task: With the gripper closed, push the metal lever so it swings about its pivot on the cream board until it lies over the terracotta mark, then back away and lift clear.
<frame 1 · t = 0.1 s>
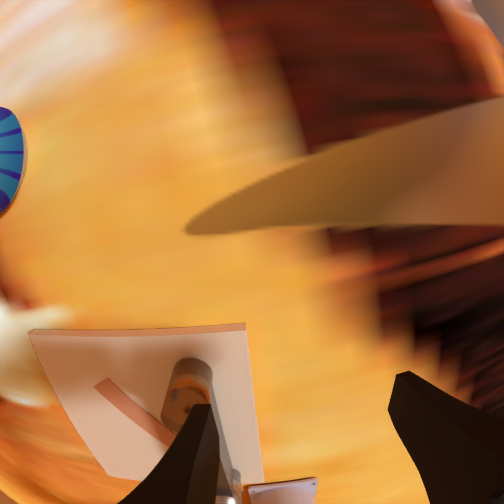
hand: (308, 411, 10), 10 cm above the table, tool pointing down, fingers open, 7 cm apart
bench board: (155, 423, 22), on the table
lever: (208, 457, 19), point 4 cm above the table, hinge at 0.0°
beer can: (1, 161, 16), on the table
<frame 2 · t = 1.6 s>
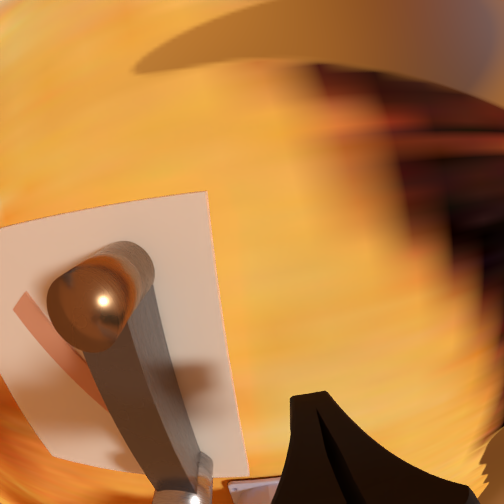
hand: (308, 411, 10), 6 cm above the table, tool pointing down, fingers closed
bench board: (92, 374, 16), on the table
lever: (151, 422, 12), point 4 cm above the table, hinge at 0.0°
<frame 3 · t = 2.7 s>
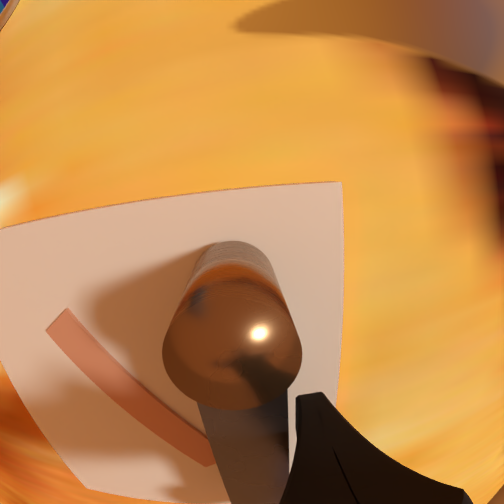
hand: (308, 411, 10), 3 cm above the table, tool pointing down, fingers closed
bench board: (153, 405, 13), on the table
lever: (255, 463, 10), point 4 cm above the table, hinge at 0.1°, touching gripper
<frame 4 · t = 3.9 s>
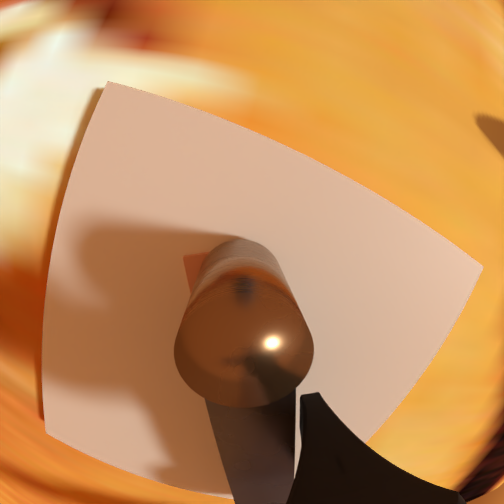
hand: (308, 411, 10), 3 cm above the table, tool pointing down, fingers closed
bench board: (229, 380, 13), on the table
lever: (259, 462, 10), point 4 cm above the table, hinge at 28.7°, touching gripper
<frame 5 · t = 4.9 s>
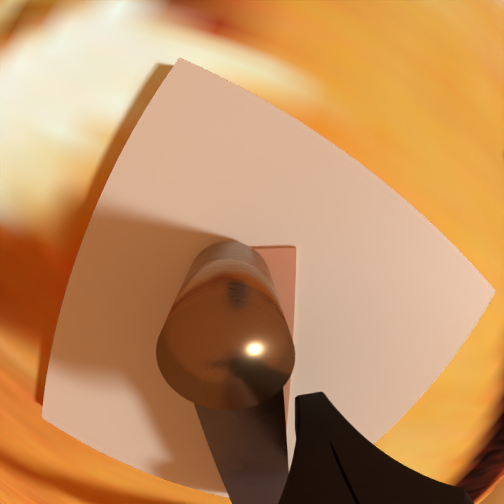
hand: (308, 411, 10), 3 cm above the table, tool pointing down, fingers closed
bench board: (252, 378, 13), on the table
lever: (255, 463, 10), point 4 cm above the table, hinge at 37.3°, touching gripper
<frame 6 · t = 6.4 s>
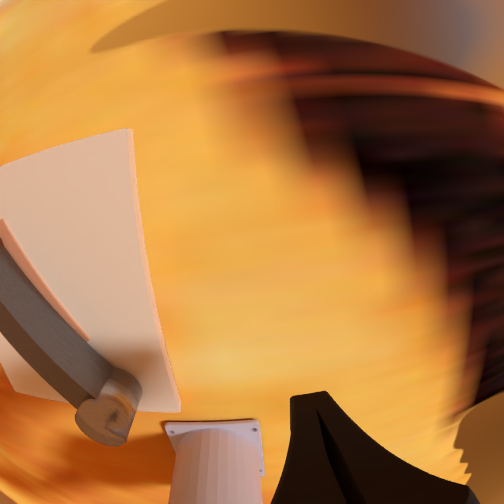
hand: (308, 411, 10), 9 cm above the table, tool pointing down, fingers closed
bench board: (46, 294, 18), on the table
lever: (35, 337, 15), point 4 cm above the table, hinge at 37.4°
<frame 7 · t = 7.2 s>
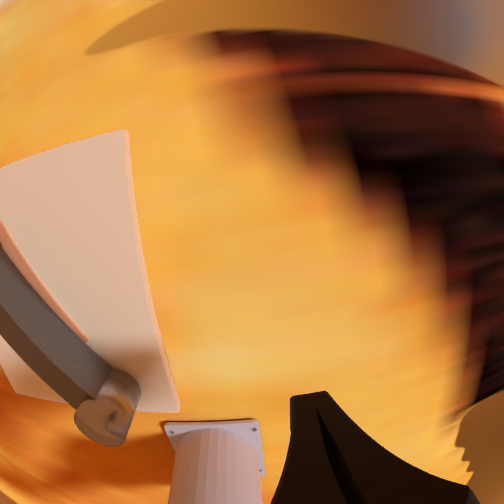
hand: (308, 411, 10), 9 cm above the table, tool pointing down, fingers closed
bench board: (44, 296, 18), on the table
lever: (34, 338, 15), point 4 cm above the table, hinge at 37.4°
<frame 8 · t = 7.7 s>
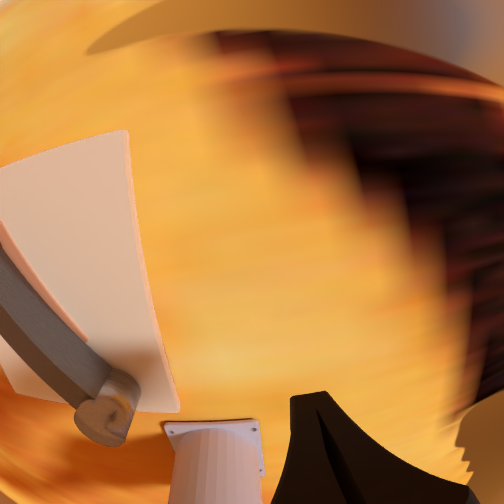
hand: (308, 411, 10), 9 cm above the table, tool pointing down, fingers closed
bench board: (44, 296, 18), on the table
lever: (34, 338, 15), point 4 cm above the table, hinge at 37.4°
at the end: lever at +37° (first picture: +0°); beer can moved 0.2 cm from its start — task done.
